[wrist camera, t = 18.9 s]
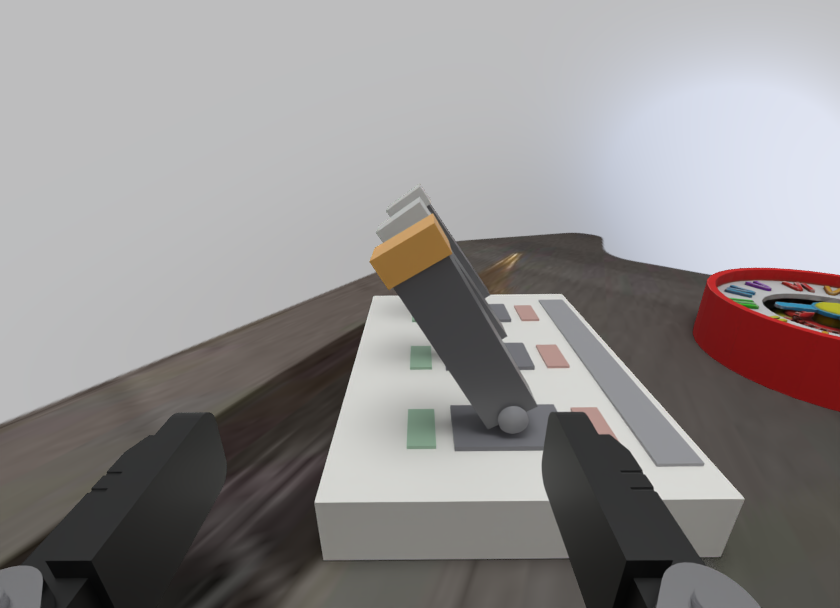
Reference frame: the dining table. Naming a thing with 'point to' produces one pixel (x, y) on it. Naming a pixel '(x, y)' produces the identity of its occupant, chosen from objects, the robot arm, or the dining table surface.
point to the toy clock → (775, 330)
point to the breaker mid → (420, 211)
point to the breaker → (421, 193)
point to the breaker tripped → (455, 323)
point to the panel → (492, 444)
